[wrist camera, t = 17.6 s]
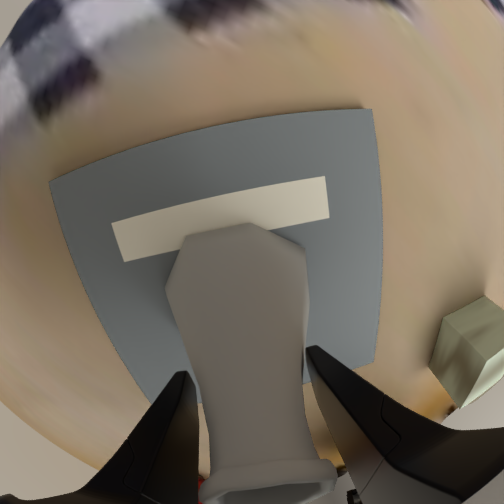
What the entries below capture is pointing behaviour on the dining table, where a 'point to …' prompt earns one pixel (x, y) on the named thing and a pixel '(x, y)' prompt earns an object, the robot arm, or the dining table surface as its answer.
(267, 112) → the dining table surface
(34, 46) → the dining table surface
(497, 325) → the sage block
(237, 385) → the flask
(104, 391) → the dining table surface
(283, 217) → the board
